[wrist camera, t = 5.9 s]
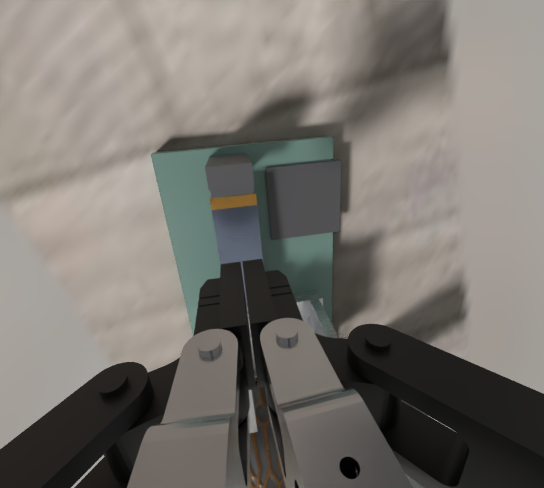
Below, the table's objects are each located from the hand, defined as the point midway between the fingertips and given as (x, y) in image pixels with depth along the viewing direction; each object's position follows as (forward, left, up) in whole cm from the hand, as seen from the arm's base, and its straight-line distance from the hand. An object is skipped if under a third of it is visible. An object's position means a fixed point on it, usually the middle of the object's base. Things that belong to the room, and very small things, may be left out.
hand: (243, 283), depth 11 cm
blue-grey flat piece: (+2, 0, -6) cm, 7 cm away
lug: (-3, 0, -7) cm, 8 cm away
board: (+4, +1, -9) cm, 9 cm away
